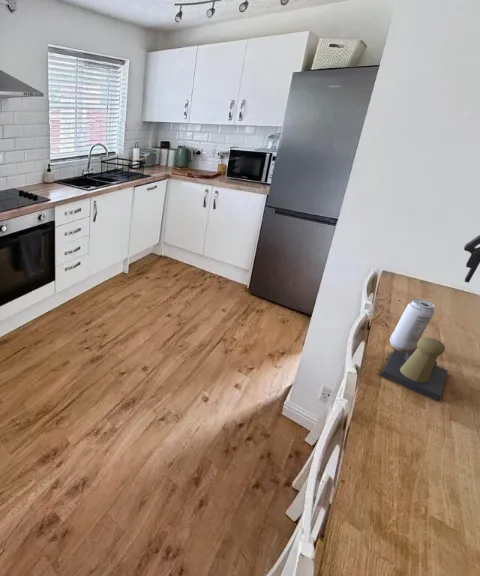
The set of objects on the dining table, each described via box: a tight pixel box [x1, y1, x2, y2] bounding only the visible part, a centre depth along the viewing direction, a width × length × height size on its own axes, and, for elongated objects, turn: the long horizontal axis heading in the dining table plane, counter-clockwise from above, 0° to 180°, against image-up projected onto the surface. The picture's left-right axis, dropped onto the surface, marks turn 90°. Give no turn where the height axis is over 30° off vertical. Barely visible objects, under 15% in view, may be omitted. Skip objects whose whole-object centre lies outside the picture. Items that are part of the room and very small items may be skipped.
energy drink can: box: [389, 298, 436, 352], centre depth 107 cm, size 6×6×15 cm
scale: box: [380, 348, 449, 402], centre depth 98 cm, size 15×12×4 cm
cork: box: [400, 336, 446, 383], centre depth 94 cm, size 6×6×11 cm
